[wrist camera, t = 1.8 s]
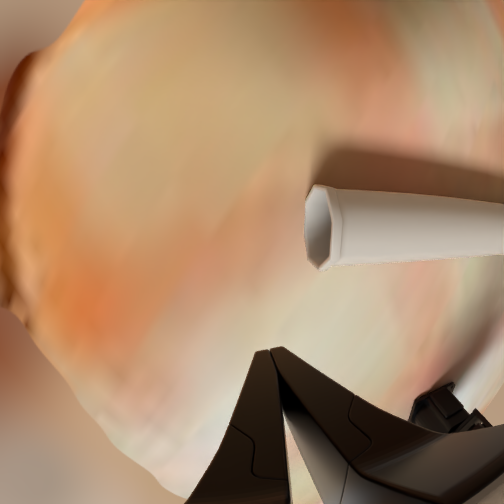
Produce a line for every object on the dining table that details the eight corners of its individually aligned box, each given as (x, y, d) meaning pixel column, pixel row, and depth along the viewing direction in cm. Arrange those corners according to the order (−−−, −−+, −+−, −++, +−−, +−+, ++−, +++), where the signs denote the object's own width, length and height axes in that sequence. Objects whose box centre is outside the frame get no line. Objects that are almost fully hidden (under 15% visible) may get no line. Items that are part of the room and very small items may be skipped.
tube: (539, 201, 19) (329, 172, 16) (543, 254, 19) (336, 272, 15) (504, 207, 24) (300, 193, 21) (507, 255, 24) (304, 270, 21)
